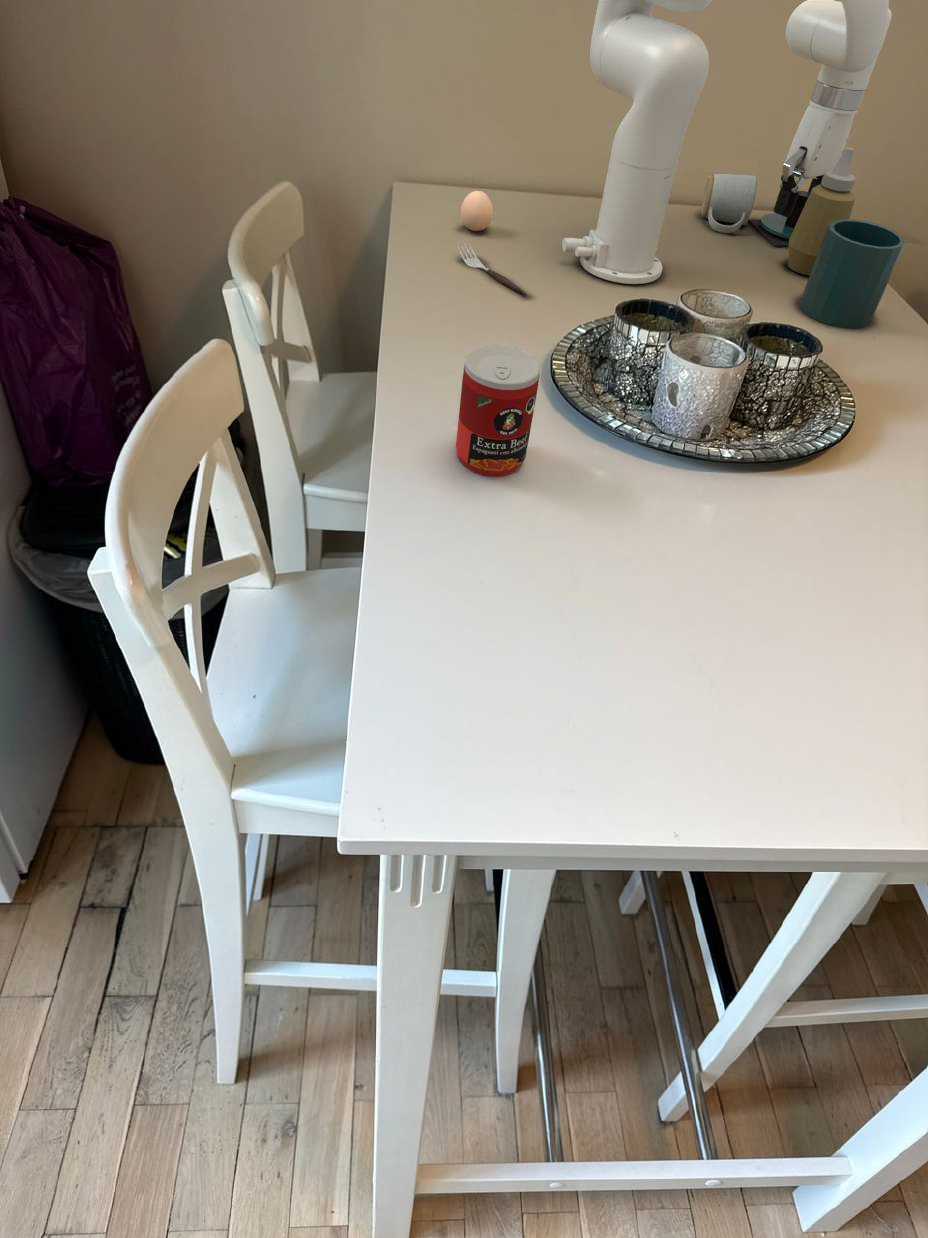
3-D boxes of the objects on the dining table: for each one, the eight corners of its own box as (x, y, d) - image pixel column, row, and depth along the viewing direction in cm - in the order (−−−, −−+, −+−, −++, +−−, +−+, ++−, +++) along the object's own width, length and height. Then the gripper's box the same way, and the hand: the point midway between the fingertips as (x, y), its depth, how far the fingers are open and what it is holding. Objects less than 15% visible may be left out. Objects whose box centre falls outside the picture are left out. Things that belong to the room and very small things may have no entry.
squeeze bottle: (825, 262, 145) (870, 143, 133) (835, 282, 139) (884, 160, 127) (776, 256, 145) (817, 136, 133) (785, 276, 139) (828, 153, 127)
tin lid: (776, 244, 148) (789, 205, 143) (748, 219, 156) (760, 180, 151) (835, 245, 150) (850, 206, 146) (804, 220, 158) (818, 182, 153)
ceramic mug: (697, 208, 158) (710, 163, 152) (743, 215, 158) (757, 170, 152) (700, 231, 150) (713, 184, 145) (748, 238, 150) (763, 191, 145)
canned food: (465, 480, 91) (477, 385, 84) (446, 438, 97) (455, 345, 89) (535, 475, 93) (552, 381, 86) (512, 433, 99) (526, 342, 91)
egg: (492, 226, 143) (496, 188, 139) (488, 238, 139) (492, 199, 135) (461, 221, 143) (465, 183, 139) (456, 233, 139) (460, 194, 135)
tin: (820, 328, 127) (852, 247, 119) (787, 296, 134) (816, 218, 126) (884, 327, 129) (919, 248, 121) (848, 296, 136) (879, 219, 128)
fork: (518, 300, 124) (520, 286, 123) (454, 257, 133) (455, 243, 131) (533, 297, 125) (535, 283, 124) (467, 254, 134) (469, 241, 133)
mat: (775, 246, 148) (776, 244, 148) (747, 221, 156) (748, 219, 156) (833, 247, 151) (834, 245, 150) (803, 222, 158) (803, 220, 158)
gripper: (844, 85, 145) (805, 194, 157) (786, 95, 136) (750, 210, 147) (885, 98, 141) (842, 209, 153) (828, 109, 132) (788, 226, 144)
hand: (797, 209), depth 150 cm, fingers open, 9 cm apart
